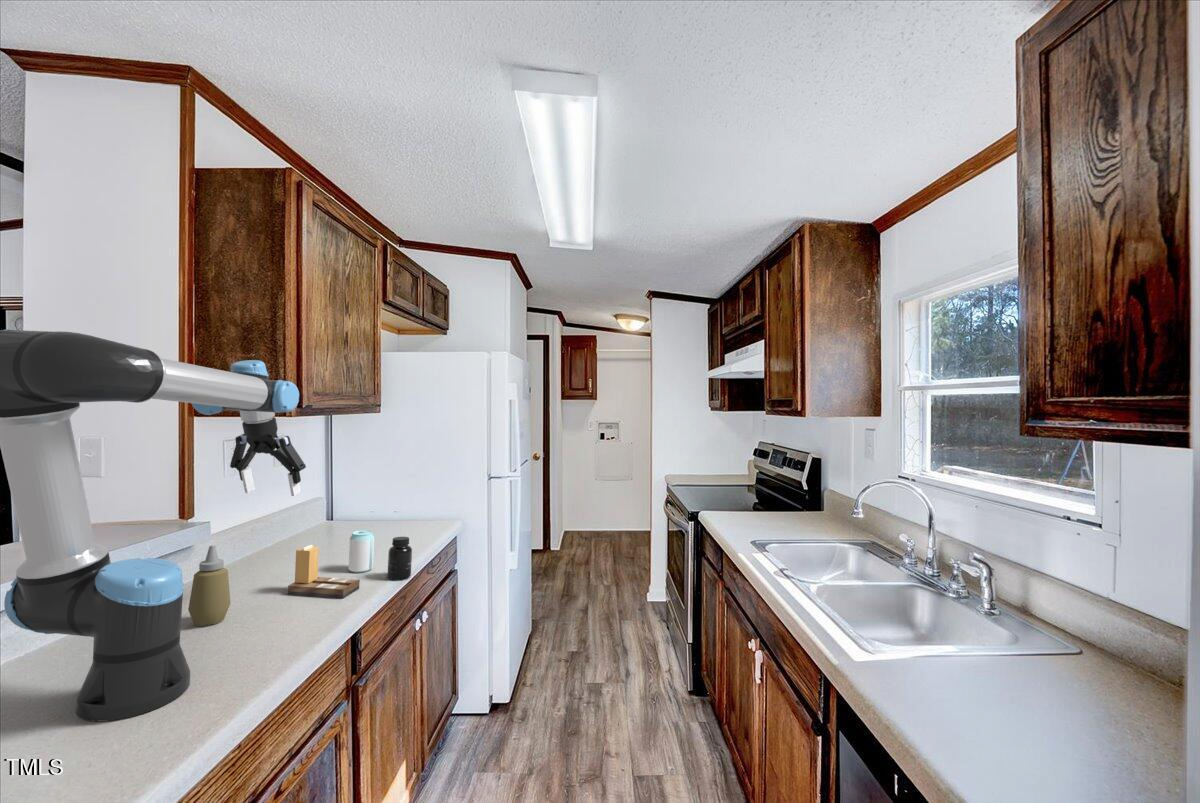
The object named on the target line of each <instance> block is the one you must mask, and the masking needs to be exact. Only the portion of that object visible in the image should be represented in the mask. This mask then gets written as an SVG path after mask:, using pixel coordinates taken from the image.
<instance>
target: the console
mask: <svg viewBox="0 0 1200 803" xmlns="http://www.w3.org/2000/svg"><path fill="white" fill-rule="evenodd" d="M360 583H361V582H360V579H352V578H343V577H342V578H341V577H323V576H317V579H316V580H314V581H313V583H295V581H294V582H292V583H291V584H288V585H287V596H298V595H300V597H301V596H302V597H313V598H325V599H326V598H327V599H328V598H329V599H341V600H344V599H345V598H347V597H348V596H350V595H351V594H353V593H354V592H356V591H358V590H359V589H360Z"/></svg>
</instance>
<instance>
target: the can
mask: <svg viewBox="0 0 1200 803" xmlns="http://www.w3.org/2000/svg"><path fill="white" fill-rule="evenodd" d="M374 546H375V536H374V534H373V531H372V530H363V529H362V530H356V531H353V532H352V534H351V536H350V537H349V546H348V547H349V551H348V570H349V572H352V573H355V574H363V573H366V572H370V571H371V570H372V569H373V568H374V551H375V550H374V548H375V547H374Z"/></svg>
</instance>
